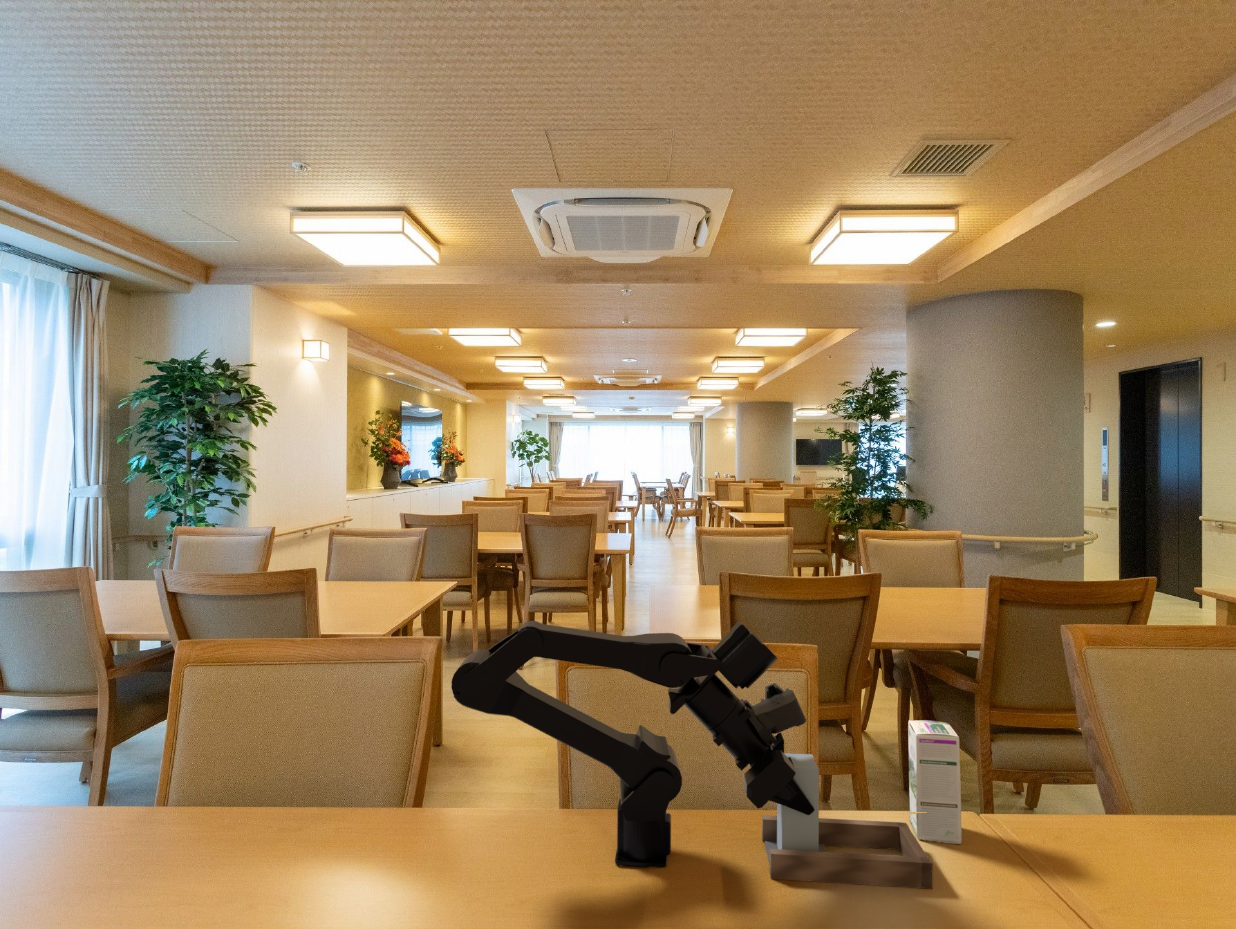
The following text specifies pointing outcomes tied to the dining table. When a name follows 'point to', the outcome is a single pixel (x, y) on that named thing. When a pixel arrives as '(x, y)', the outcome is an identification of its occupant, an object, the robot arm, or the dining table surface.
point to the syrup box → (934, 781)
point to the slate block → (793, 824)
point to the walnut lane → (852, 855)
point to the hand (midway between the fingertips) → (808, 803)
